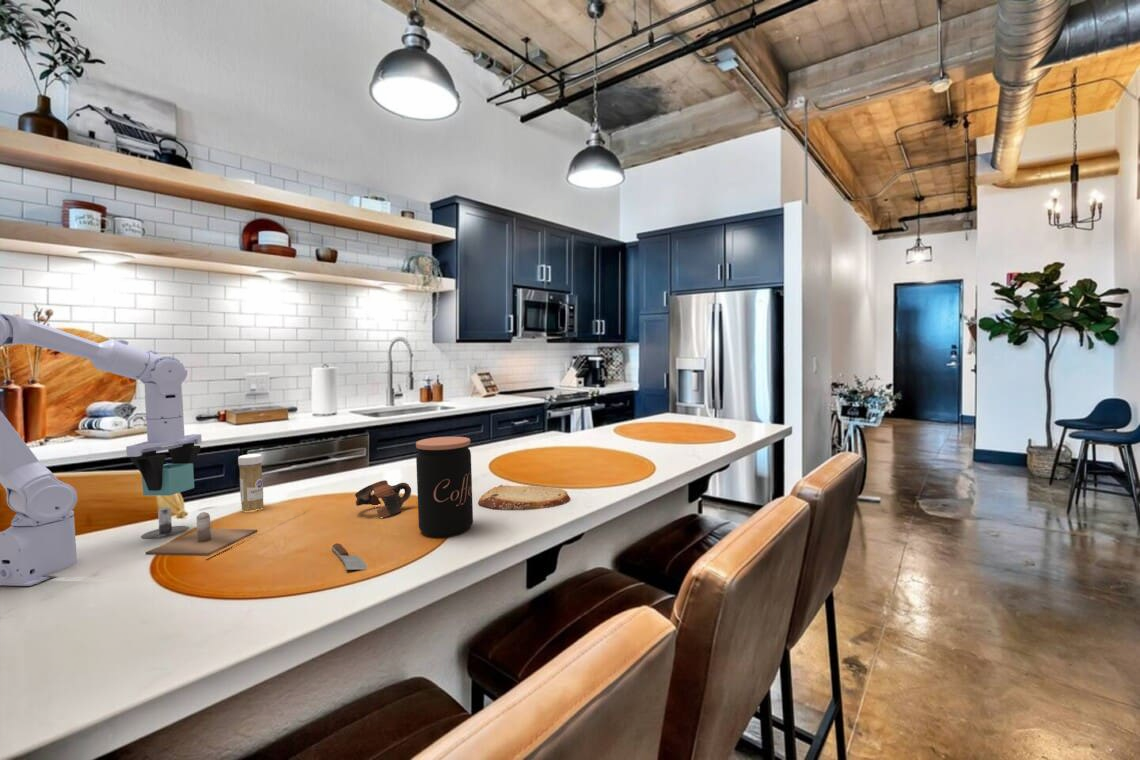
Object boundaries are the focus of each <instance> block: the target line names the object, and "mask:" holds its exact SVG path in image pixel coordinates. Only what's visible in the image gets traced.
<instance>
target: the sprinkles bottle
mask: <svg viewBox="0 0 1140 760" xmlns="http://www.w3.org/2000/svg"><path fill="white" fill-rule="evenodd" d="M237 461H238V462H237V463H238V467H239V489H240V490H239V491H240V493H239V494H240V502H241V511H242V510H243V511H250V510H256V509H261V508H263V507H265V506H264V485H263V469H262V462H263V456H262V454H261V453H250V454H249V453H248V454H243V455H239V456H238V458H237Z"/></svg>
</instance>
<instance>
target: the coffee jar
mask: <svg viewBox="0 0 1140 760" xmlns="http://www.w3.org/2000/svg"><path fill="white" fill-rule="evenodd" d="M470 445H471V439H470V438H469V437H464V436H438V437H430V438H424V439H420V440H417V441H416V442H415V447H416V449H417V450H418V452H417V453H416V456H415V458H416V459H415V460H416V487H417V490H416V491H417V515H418V517H417V518H418V529H419V531H421V533H422V534H423V535H424V536H427V537H428V538H429V537H430V538H450V537H455V536H459V535H462V534H464V533H466V532H468V531H469V530H470V529H471V526H472V525H473V522H474V515H473V514H474V513H473V511H474V509H473V507H474V506H473V481H472V480H473V479H472V478H473V476H472V453H471V449H470V448H469V446H470Z"/></svg>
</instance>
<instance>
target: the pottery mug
mask: <svg viewBox="0 0 1140 760" xmlns="http://www.w3.org/2000/svg"><path fill="white" fill-rule="evenodd" d="M401 490H404V494H403V496H400V491H401ZM372 492H374V493H373V494H372ZM411 494H412V487H411V486H410V485H409V483H407V482H400V483H397V484H395V485H394V484H393V485H391V484H389V482H388V480H387V479H386V480H385V479H383V480H380V481H376V482H375V483H372V484H369V485H367V486H365V487H363V488H361V489H359V491H357V492H355V495H354V496H355V497H356V500H355V506H357V507H358V506H363V505H371V506H372V505H378V504H381V505H382V503H384V505H383V506H382V507H380V508H377V509H376V513H377V514H378V517H379V518H380V517H385V518H387V517H389V516H392V515H397V514H399V512H400V510H401V508H402V507H403V504H404V503H405V502H407V500H409V498H410V497H411ZM380 499H381V500H382V502H381V501H380ZM400 513H401V512H400Z"/></svg>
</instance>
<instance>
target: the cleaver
mask: <svg viewBox="0 0 1140 760" xmlns="http://www.w3.org/2000/svg"><path fill="white" fill-rule="evenodd" d="M331 550H332V552H333V553H334V554H335V555H336V556H337V558H338V559H340V560H341V561H342V563H343V565H344V567H345V570H346V571H348V570H349V571H350V570H351V571H352V570H358V571H359V570H363V571H365V570H367V569H368V567H367V564H366V563H365V562H364V561H363V559H362V558H361V556H359V555H350V554H349V552H348V551H347V549H346V548H345V547H344V546H343V545H342V544H341V543H335V544H333V545H332V547H331Z"/></svg>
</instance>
